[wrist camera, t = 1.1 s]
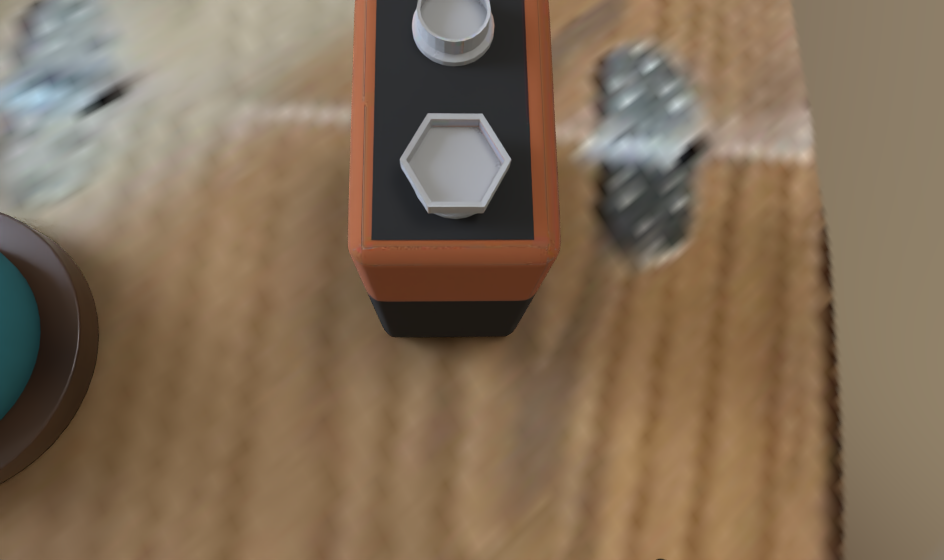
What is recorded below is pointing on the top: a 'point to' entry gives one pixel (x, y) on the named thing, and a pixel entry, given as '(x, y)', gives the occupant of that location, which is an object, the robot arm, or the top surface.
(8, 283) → the teal dome on base
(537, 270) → the battery
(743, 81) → the top surface
